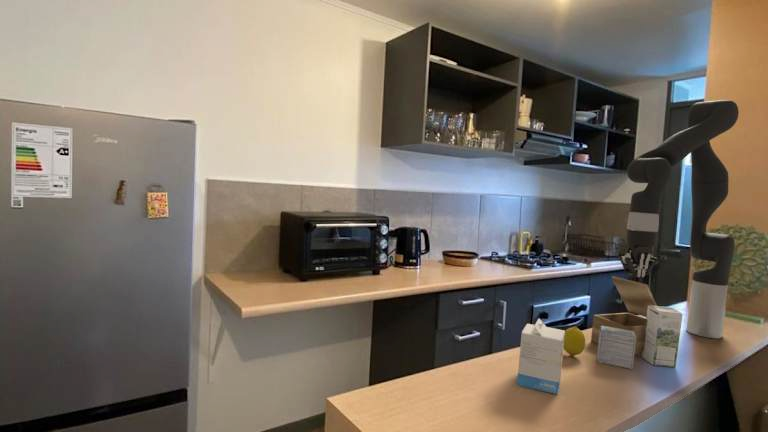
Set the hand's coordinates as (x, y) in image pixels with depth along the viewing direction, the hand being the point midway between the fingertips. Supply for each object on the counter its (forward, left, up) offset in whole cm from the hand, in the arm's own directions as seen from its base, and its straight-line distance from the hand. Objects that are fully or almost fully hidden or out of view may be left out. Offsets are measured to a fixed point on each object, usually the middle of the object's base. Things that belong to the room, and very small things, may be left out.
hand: (635, 289), depth 119 cm
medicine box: (+16, +8, -17) cm, 24 cm away
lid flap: (-1, 0, -3) cm, 3 cm away
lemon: (+24, +2, -17) cm, 29 cm away
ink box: (+44, +12, -17) cm, 48 cm away
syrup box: (+3, +10, -17) cm, 20 cm away
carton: (+2, 0, -17) cm, 17 cm away
